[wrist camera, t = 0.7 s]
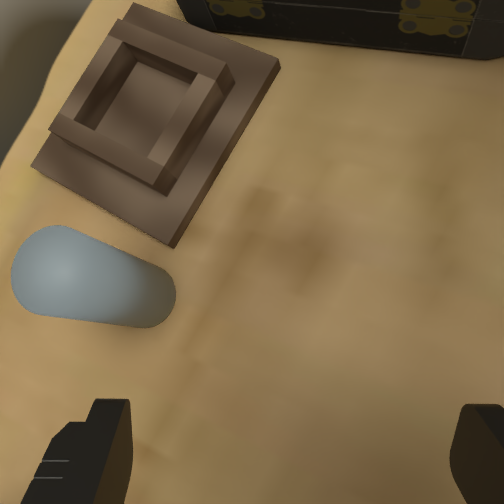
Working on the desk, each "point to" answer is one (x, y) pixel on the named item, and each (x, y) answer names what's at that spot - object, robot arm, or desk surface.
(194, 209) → the holder
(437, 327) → the desk surface
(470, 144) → the desk surface
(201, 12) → the cash box
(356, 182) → the desk surface
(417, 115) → the desk surface
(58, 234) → the cylinder
